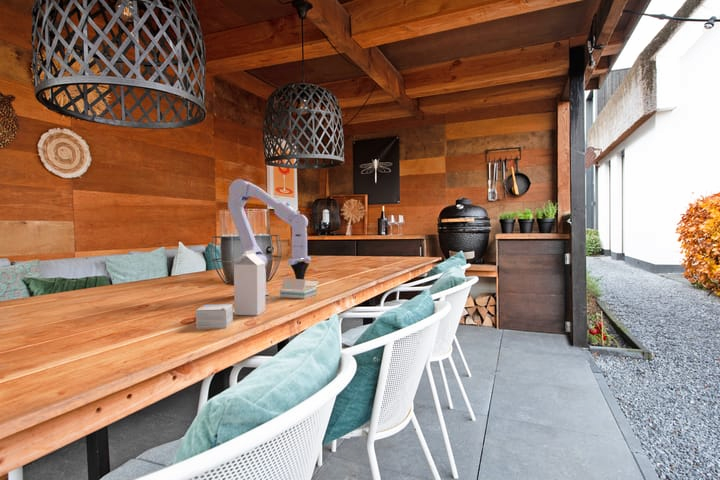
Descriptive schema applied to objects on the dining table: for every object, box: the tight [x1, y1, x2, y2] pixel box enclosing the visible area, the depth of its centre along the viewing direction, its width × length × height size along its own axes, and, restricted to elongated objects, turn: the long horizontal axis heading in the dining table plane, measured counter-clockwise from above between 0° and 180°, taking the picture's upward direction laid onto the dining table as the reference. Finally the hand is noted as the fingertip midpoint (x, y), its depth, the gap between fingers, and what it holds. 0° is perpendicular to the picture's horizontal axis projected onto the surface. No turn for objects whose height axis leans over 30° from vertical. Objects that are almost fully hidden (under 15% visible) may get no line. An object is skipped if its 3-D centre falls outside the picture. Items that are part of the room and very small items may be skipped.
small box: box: [195, 303, 234, 330], centre depth 106 cm, size 8×8×5 cm
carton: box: [279, 286, 318, 300], centre depth 151 cm, size 10×10×3 cm
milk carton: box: [233, 250, 266, 316], centre depth 120 cm, size 7×7×19 cm
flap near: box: [280, 278, 307, 290], centre depth 147 cm, size 1×9×4 cm, turn 71°
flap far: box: [304, 280, 320, 288], centre depth 157 cm, size 1×9×4 cm
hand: (300, 282), depth 152 cm, fingers closed
